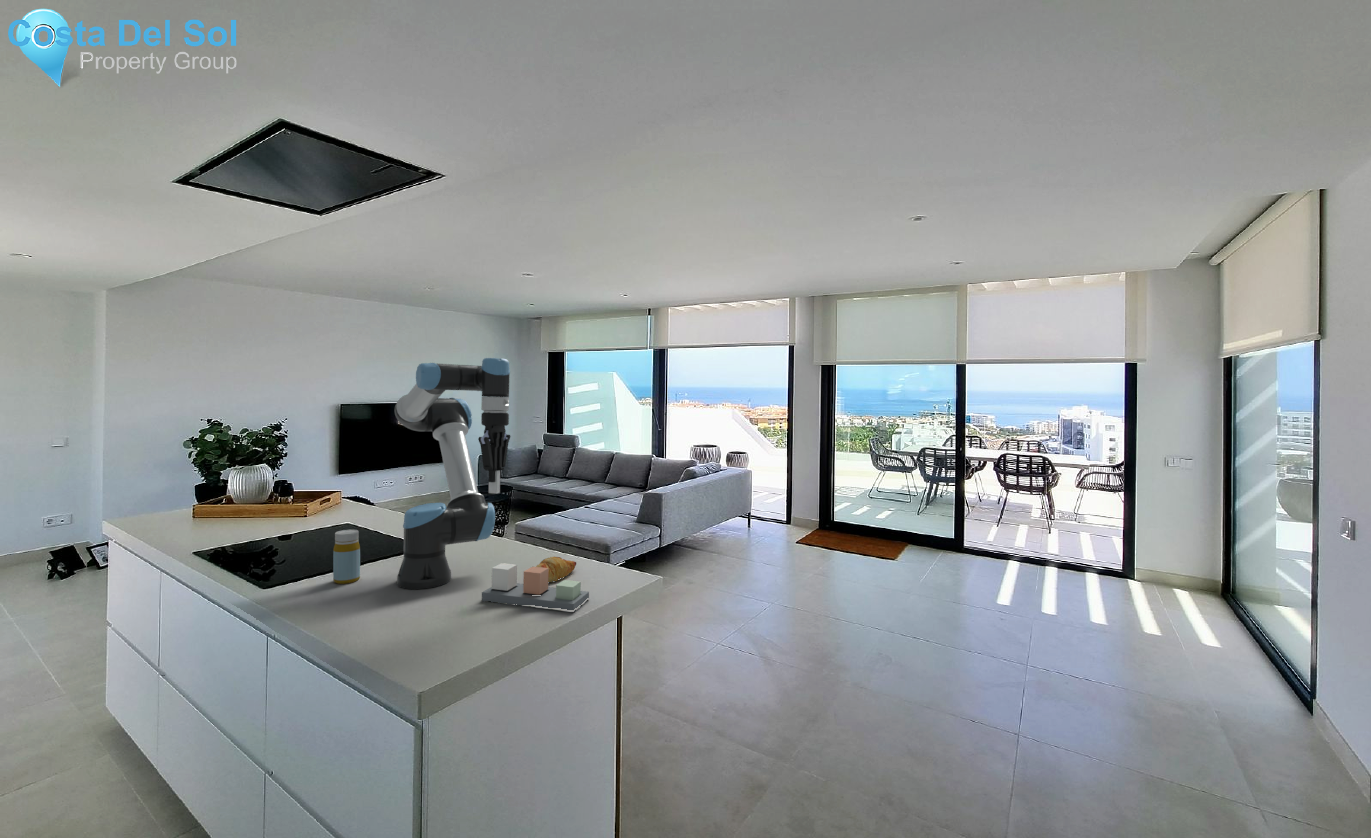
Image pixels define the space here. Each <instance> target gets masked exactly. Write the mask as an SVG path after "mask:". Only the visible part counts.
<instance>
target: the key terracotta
mask: <svg viewBox="0 0 1371 838" xmlns="http://www.w3.org/2000/svg"><path fill="white" fill-rule="evenodd" d="M548 571H549V568H542V567H536V566H530V568H527V569H525V570H524V571H523V580H524V582H523V583H522V584H523V593H530V594H538V595H540V594H541V593H543V592H544V591H546V590H547V589H548V587H549V583H548Z"/></svg>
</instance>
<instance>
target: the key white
mask: <svg viewBox="0 0 1371 838" xmlns="http://www.w3.org/2000/svg"><path fill="white" fill-rule="evenodd" d="M517 583H518V564H512V563H504V562H501V563H499V564H497V565H495V566H493V567H491V587H492V589H497V590H505V591H508V590H510V589H511V588H513V587H515V586H516V585H517Z"/></svg>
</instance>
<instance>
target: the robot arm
mask: <svg viewBox="0 0 1371 838" xmlns="http://www.w3.org/2000/svg"><path fill="white" fill-rule="evenodd" d="M510 374H511V370H510V362H509V360H508V359H506V358H502V357H501V358H499V357H484V358H483V359H482V361H481V365H472V364H471V365H469V364H451V363H450V364H449V363H435V362H424V363H423V362H422V363H419V364H418V366H417V368H416V371H415V384H414V386H413V387H412V388H411V389H410V391H409V392H408V393H407V394H405V395H402V396H401V397H400V398H398V400H397V402H396V403H395V406H394V415H395V419H397V421H398V422H399V423H400V425H402V426H403V427H405V428H407V429H408V430H411V431H415V432H432V437H433V439H434V440H436V441H438V444H439V448H440V452H441V457H442V458H441V459H442V463H443V467H444V471H445V477H446V482H447V486H448V490H449V491H448V493H449V496H450V500H448V501H449V502H447V505H446V503H444V502H430V503H424V504H419V505H416V506H412V507H411V508H409V509H407V510H406V511H405V513H404V516H403V517H404V518H403V525H402V528H403V559H402V561H401V565H400V567H399V570H398V573H397V575H396V585H397V586H398V587H400V588H403V589H408V590H409V589H410V590H422V589H425V590H426V589H431V588H435V587H439V586H443V585H445V584H448V583H449V582H450V581H451V580H452V570H451V569H450V566H449V565H450V564H449V563H448V559H447V556H446V546H447V545H454V544H461V543H470V542H478V541H483V540H487V539H489V538H490V537H491V536H492V533H493V532H494V529H495V524H496V523H495V522H496V511H495V506H494V505H493V503H492V502H487V501H486V500H485V496H484V494H481V493H480V492H479V490H478V486H477V480H476V478H475V472H474V468H473V465H472V459H471V455H470V451H469V446H468V442H467V439H466V435H467V434H468V432H469V430H470V428H472V424H473V423H472V422H473V418H472V411H471V407H470V405H469V404H468V402H467V401H466V400H465V399H462V398H455V397H449V398H445V397H444V398H441V396H442V394H443V393H445V391H471V392H473V391H476V392H481V407H480V408H481V411H482V413H481V416H480V417H481V425H482V426H484V430H483V435H482V436H479V437H478V443H479V444H480V451H481V452H480V453H481V459H482V466H483V469H484V470H485V471H486V472H488V494H500V493H501V471H504V470H505V467H506V463H507V462H506V461H507V454H508V448H509V442H510V439H511V434H507V432H506V431H507V430H506V426H508V425H509V424H510V422H509V421H510V414H509V413H508V412H509V410H510V405H509V404H510V398H509V397H510Z"/></svg>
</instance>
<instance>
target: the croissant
mask: <svg viewBox="0 0 1371 838" xmlns="http://www.w3.org/2000/svg"><path fill="white" fill-rule="evenodd" d="M576 565H577V561H575V560H566V559H563V558H562V557H559V556H550V557H547V558H544V559H543V560H541V561H540V562H539V564H537V565H536V566H535V567H542V568H549V571H548V582H551V583H553V582H552V581H556V582H558V581H559V580H558V579H560V578H563V577H565V576H566V577H567V576H568V575H570V574H571V573H572V572H573V571H574V570H575V568H576ZM569 573H570V574H569ZM566 577H565V578H566ZM563 579H564V578H563ZM557 580H558V581H557ZM523 583H524V579H523Z"/></svg>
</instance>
